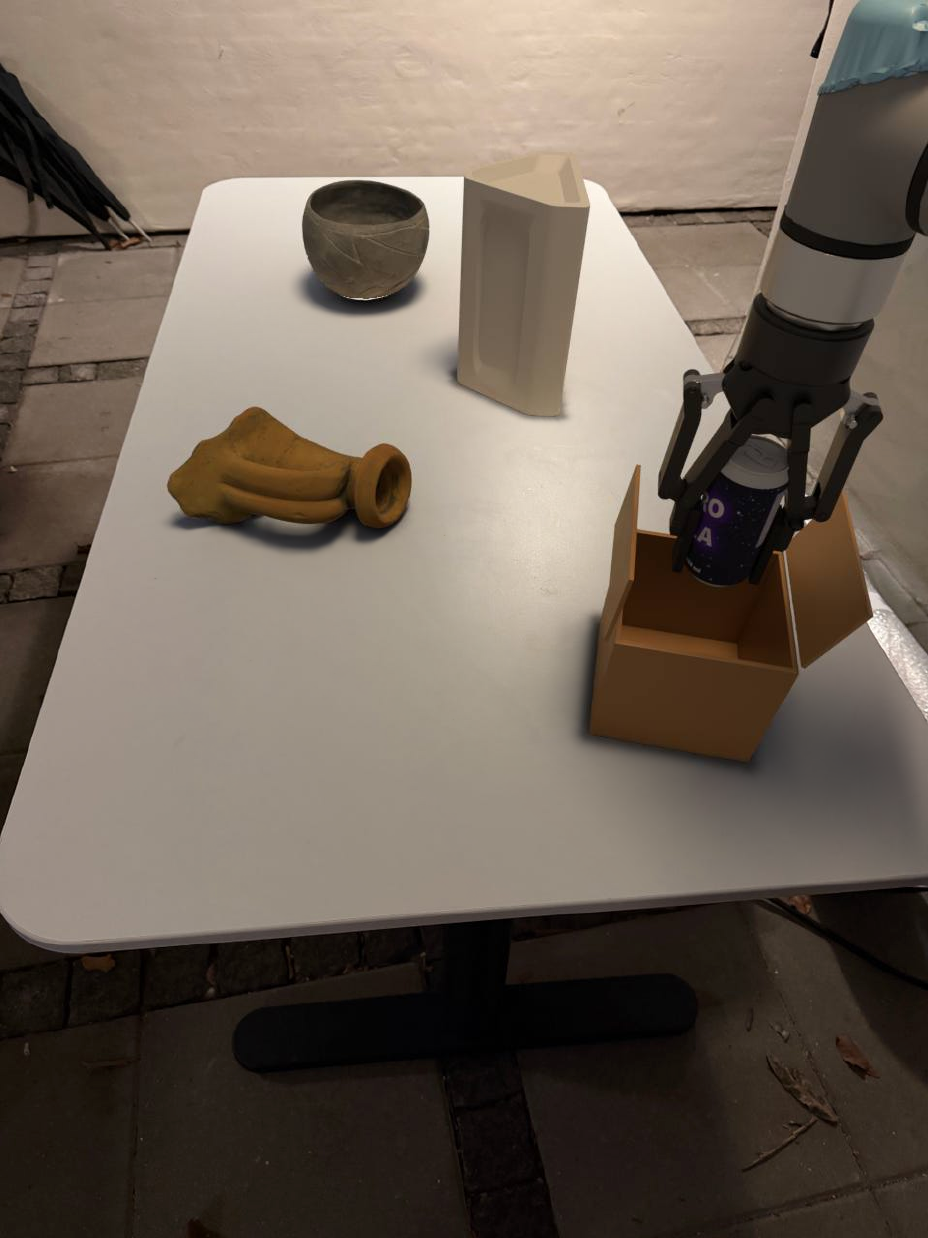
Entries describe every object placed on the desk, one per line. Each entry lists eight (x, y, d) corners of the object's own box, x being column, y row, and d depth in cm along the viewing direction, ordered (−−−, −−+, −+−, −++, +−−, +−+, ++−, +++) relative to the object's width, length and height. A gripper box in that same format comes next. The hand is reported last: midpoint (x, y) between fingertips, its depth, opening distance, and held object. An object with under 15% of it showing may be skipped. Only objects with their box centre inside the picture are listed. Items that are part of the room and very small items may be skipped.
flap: (784, 545, 72) (788, 547, 72) (800, 667, 62) (804, 669, 62) (841, 490, 67) (845, 492, 67) (869, 614, 57) (874, 616, 57)
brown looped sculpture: (267, 389, 99) (416, 411, 90) (275, 487, 105) (415, 517, 96) (155, 416, 84) (320, 446, 76) (172, 528, 90) (327, 568, 82)
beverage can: (707, 538, 69) (749, 423, 60) (760, 574, 66) (812, 458, 57) (666, 565, 66) (703, 448, 58) (719, 603, 64) (767, 487, 55)
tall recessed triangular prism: (457, 345, 123) (464, 147, 102) (550, 348, 123) (575, 152, 103) (456, 412, 110) (463, 202, 90) (560, 416, 111) (591, 207, 90)
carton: (740, 644, 83) (812, 488, 67) (748, 762, 73) (835, 612, 57) (591, 619, 84) (629, 462, 69) (579, 732, 74) (620, 578, 59)
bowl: (356, 334, 124) (349, 237, 113) (283, 286, 134) (271, 193, 123) (454, 297, 134) (456, 205, 123) (379, 256, 144) (375, 167, 133)
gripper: (956, 295, 50) (821, 555, 68) (668, 261, 52) (607, 522, 69) (986, 351, 45) (832, 617, 63) (666, 311, 47) (601, 580, 64)
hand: (714, 567), depth 66 cm, fingers closed on beverage can, 6 cm apart
